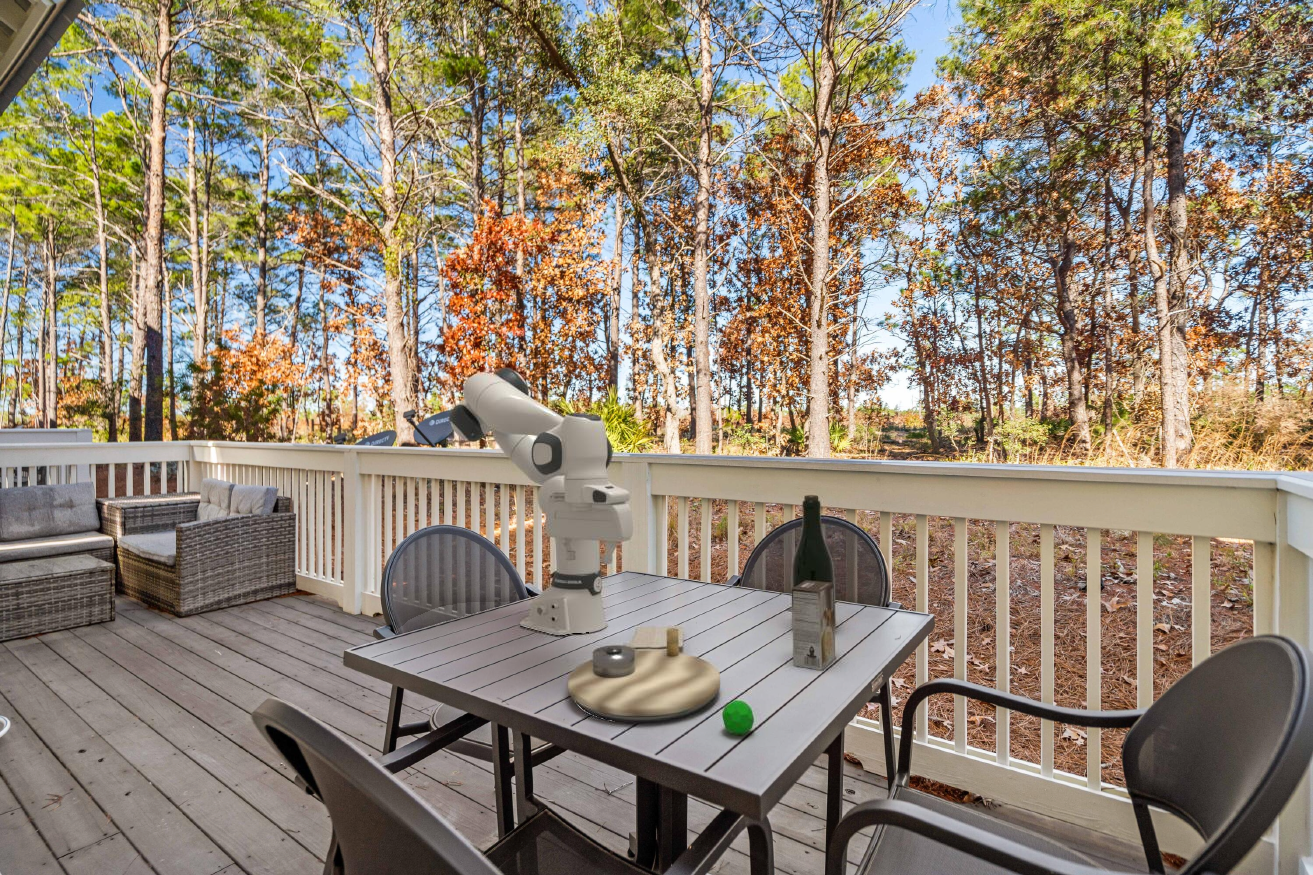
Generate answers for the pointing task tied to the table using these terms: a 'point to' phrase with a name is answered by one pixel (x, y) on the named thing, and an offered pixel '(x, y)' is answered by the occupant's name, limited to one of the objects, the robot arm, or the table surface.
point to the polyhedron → (738, 717)
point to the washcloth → (655, 638)
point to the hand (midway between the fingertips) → (588, 561)
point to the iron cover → (613, 661)
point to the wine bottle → (812, 549)
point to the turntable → (648, 684)
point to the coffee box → (813, 624)
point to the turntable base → (647, 718)
